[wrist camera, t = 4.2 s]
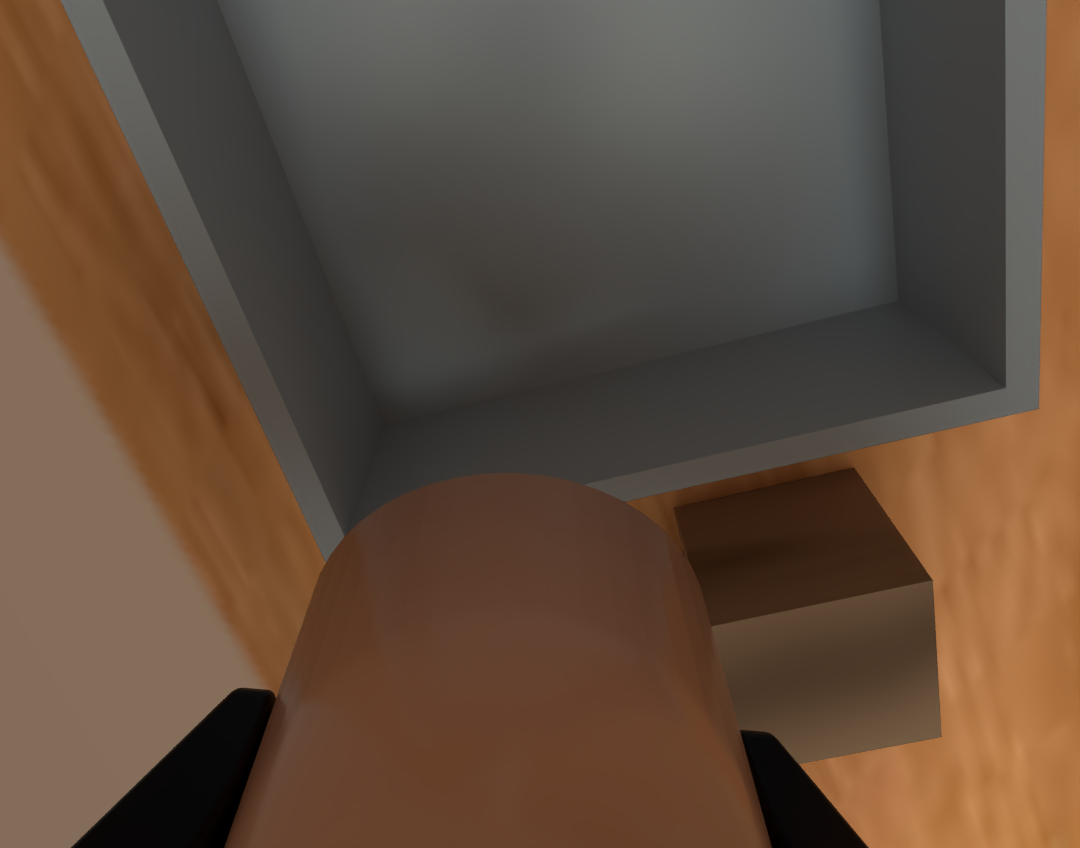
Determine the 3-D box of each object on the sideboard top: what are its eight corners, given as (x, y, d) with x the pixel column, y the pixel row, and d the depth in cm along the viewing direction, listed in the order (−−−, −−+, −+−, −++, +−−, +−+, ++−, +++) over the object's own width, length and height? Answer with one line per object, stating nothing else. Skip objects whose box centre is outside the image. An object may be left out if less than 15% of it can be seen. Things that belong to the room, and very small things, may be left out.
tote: (916, 310, 20) (1038, 408, 15) (373, 441, 22) (328, 568, 17) (861, -716, 13) (1068, -1168, 8) (31, -405, 14) (-232, -619, 9)
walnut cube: (867, 604, 25) (941, 737, 20) (703, 638, 25) (740, 774, 21) (853, 465, 22) (932, 580, 18) (673, 506, 23) (707, 627, 19)
